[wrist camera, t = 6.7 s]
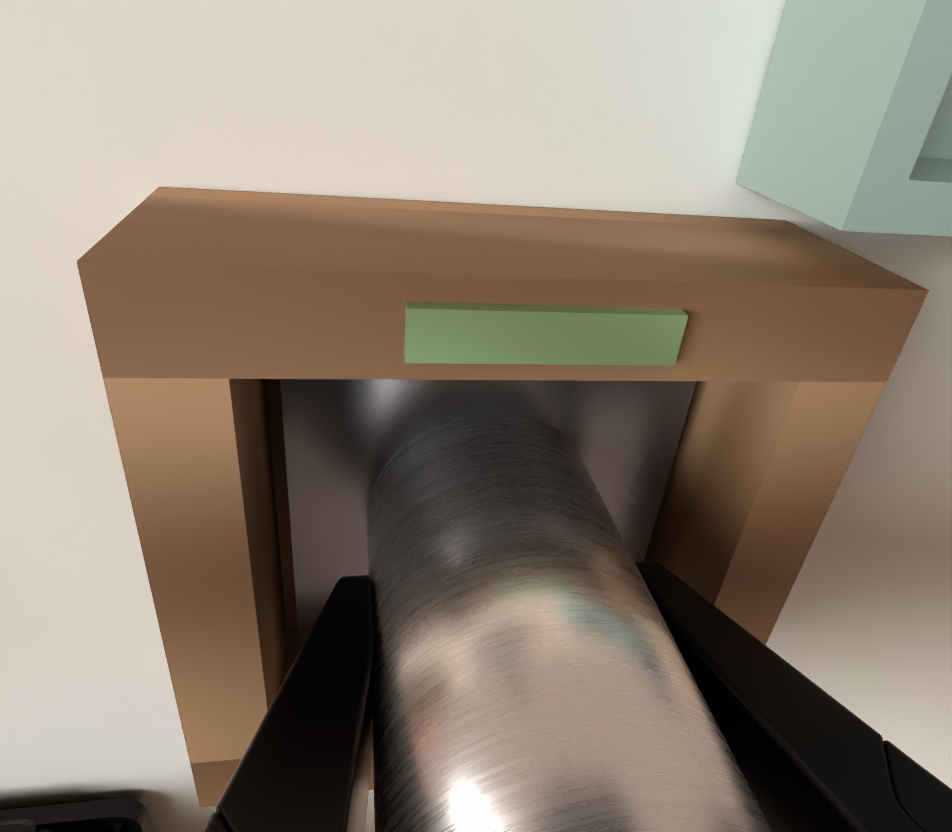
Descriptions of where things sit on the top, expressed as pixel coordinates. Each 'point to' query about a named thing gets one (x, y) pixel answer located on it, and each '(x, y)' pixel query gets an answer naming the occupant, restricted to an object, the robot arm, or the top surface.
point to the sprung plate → (440, 401)
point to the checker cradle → (462, 358)
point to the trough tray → (858, 116)
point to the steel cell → (527, 653)
